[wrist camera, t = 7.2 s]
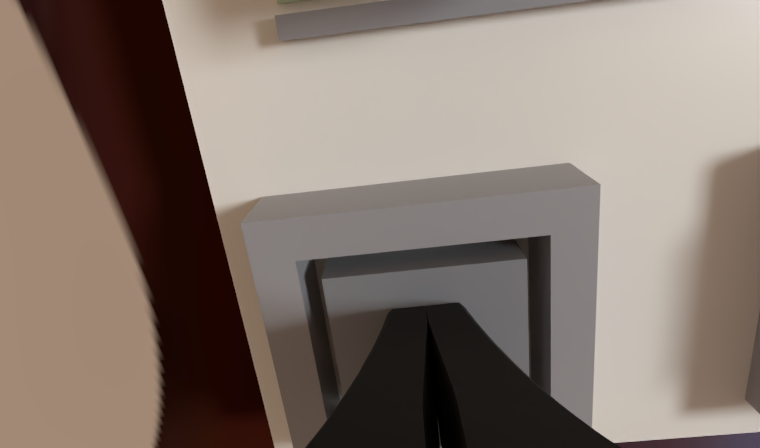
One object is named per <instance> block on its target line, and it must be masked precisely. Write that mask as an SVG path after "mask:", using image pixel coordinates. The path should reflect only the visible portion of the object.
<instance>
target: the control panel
mask: <svg viewBox="0 0 760 448" xmlns="http://www.w3.org/2000/svg"><path fill="white" fill-rule="evenodd" d="M162 2H163V5H164V9H165V13H166V17H167V21H168V25H169V29H170V33H171V37H172V41H173V45H174V49H175V53H176V57H177V61H178V65H179V69H180V73H181V77H182V81H183V85H184V89H185V93H186V97H187V101H188V105H189V109H190V113H191V117H192V121H193V125H194V129H195V133H196V137H197V141H198V145H199V149H200V152H201V156H202V160H203V164H204V168H205V172H206V176H207V180H208V184H209V188H210V192H211V196H212V200H213V204H214V208H215V212H216V216H217V220H218V224H219V228H220V232H221V236H222V240H223V244H224V248H225V252H226V256H227V260H228V264H229V268H230V272H231V276H232V280H233V284H234V288H235V292H236V295H237V299H238V303H239V307H240V311H241V315H242V319H243V323H244V327H245V331H246V335H247V339H248V343H249V347H250V351H251V355H252V359H253V363H254V367H255V371H256V375H257V379H258V383H259V387H260V391H261V395H262V399H263V403H264V407H265V411H266V415H267V419H268V423H269V427H270V431H271V435H272V438H273V442H274V446H275V448H305V447H306V446H307V445H308V443H309V442H310V441H311V440H312V439H313V437H314V436H315V435H316V434H317V432H318V431H319V430H320V429H321V427H322V426H323V425H324V423H325V422H326V421H327V419H328V418H329V417H330V415H331V414H332V412H333V411H334V410H335V408H336V407H337V405H338V404H339V402H340V401H341V399H342V398H343V395H342V389H341V384H340V378H339V373H338V367H337V362H336V356H335V351H334V345H333V340H332V334H331V329H330V323H329V318H328V312H327V307H326V301H325V296H324V290H323V285H322V276H323V272H324V269H325V265H326V262H327V259H328V258H332V257H342V256H351V255H361V254H371V253H381V252H390V251H400V250H410V249H420V248H429V247H439V246H449V245H459V244H468V243H478V242H488V241H498V240H507V239H515V240H516V241H517V243H518V245H519V246H520V248H521V249H522V251H523V253H524V254H525V256H526V258H527V278H528V329H529V377H530V378H531V379H532V380H533V381H534V382H535V383H537V384H538V385H539V386H540V387H541V388H542V389H543V390H545V391H546V392H547V393H548V394H549V395H550V396H551V397H553V398H554V399H555V400H556V401H557V402H559V403H560V404H561V405H562V406H564V407H565V408H566V409H567V410H569V411H570V412H571V413H572V414H574V415H575V416H576V417H578V418H579V419H580V420H582V421H583V422H585V423H586V424H587V425H589V426H590V427H591V428H593V429H594V430H595V431H597V432H598V433H600V434H601V435H603V436H604V437H606V438H607V439H609V440H610V441H612V442H613V443H619V442H632V441H645V440H658V439H671V438H684V437H698V436H711V435H724V434H737V433H750V432H760V0H162ZM439 439H440V435H439ZM440 448H442V447H441V443H440Z"/></svg>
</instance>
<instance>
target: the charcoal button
mask: <svg viewBox="0 0 760 448" xmlns="http://www.w3.org/2000/svg"><path fill="white" fill-rule="evenodd" d="M322 285H323V290H324V296H325V301H326V307H327V312H328V318H329V323H330V329H331V334H332V340H333V345H334V351H335V356H336V362H337V367H338V373H339V378H340V384H341V389H342V395H343V396H344V395H345V393H346V392H347V390H348V389H349V387H350V386H351V384H352V383H353V381H354V379H355V378H356V376H357V375H358V373H359V371H360V369H361V368H362V366H363V364H364V362H365V361H366V359H367V357H368V355H369V353H370V352H371V350H372V348H373V346H374V344H375V342H376V340H377V338H378V336H379V334H380V331H381V329H382V327H383V325H384V322H385V320H386V317H387V314H388V313H389V312H390V311H391V310H392V309H397V308H408V307H418V306H425V307H426V306H429V305H439V304H448V303H458V302H459V303H460V304H462V305H463V306H464V307H465V308H466V309H467V310H468V312H469V313H470V314H471V316H472V317H473V318H474V320H475V321H476V322H477V323H478V324H479V326H480V327H481V328H482V329H483V330H484V331H485V332H486V334H487V335H488V336H489V337H490V338H491V339H492V340H493V341H494V342H495V344H496V345H497V346H498V347H499V348H500V349H501V350H502V351H503V352H504V353H505V354H506V355H507V356H508V357H509V358H510V359H511V360H512V361H513V362H514V363H515V364H516V365H517V366H518V367H519V368H520V369H521V370H522V371H523V372H524V373H526V374H527V375H528V376H529V329H528V278H527V258H526V256H525V254H524V253H523V251H522V249H521V248H520V246H519V245H518V243H517V241H516V240H515V239H507V240H498V241H488V242H478V243H468V244H459V245H449V246H439V247H429V248H420V249H410V250H400V251H390V252H381V253H371V254H361V255H351V256H342V257H332V258H328V259H327V262H326V265H325V269H324V272H323V276H322ZM426 314H427V313H426ZM437 419H438V418H437ZM438 429H439V426H438Z"/></svg>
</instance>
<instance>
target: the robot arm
mask: <svg viewBox="0 0 760 448" xmlns="http://www.w3.org/2000/svg"><path fill="white" fill-rule="evenodd" d="M426 313H427V314H426ZM437 418H438V419H437ZM438 426H439V429H438ZM439 435H440V439H439ZM440 443H441V447H442V448H620V447H619V446H617V445H616V444H614V443H613V442H612V441H610V440H609V439H607V438H606V437H604V436H603V435H601V434H600V433H598V432H597V431H595V430H594V429H593V428H591V427H590V426H589V425H587V424H586V423H585V422H583V421H582V420H580V419H579V418H578V417H576V416H575V415H574V414H572V413H571V412H570V411H569V410H567V409H566V408H565V407H564V406H562V405H561V404H560V403H559V402H557V401H556V400H555V399H554V398H553V397H551V396H550V395H549V394H548V393H547V392H546V391H545V390H543V389H542V388H541V387H540V386H539V385H538V384H537V383H535V382H534V381H533V380H532V379H531V378H530V377H529V376H528V375H527V374H526V373H524V372H523V371H522V370H521V369H520V368H519V367H518V366H517V365H516V364H515V363H514V362H513V361H512V360H511V359H510V358H509V357H508V356H507V355H506V354H505V353H504V352H503V351H502V350H501V349H500V348H499V347H498V346H497V345H496V344H495V342H494V341H493V340H492V339H491V338H490V337H489V336H488V335H487V334H486V332H485V331H484V330H483V329H482V328H481V327H480V326H479V324H478V323H477V322H476V321H475V320H474V318H473V317H472V316H471V314H470V313H469V312H468V310H467V309H466V308H465V307H464V306H463V305H462V304H460V303H459V302H458V303H448V304H439V305H429V306H426V307H425V306H418V307H408V308H397V309H392V310H391V311H390V312H389V313H388V314H387V317H386V320H385V322H384V325H383V327H382V329H381V331H380V334H379V336H378V338H377V340H376V342H375V344H374V346H373V348H372V350H371V352H370V353H369V355H368V357H367V359H366V361H365V362H364V364H363V366H362V368H361V369H360V371H359V373H358V375H357V376H356V378H355V379H354V381H353V383H352V384H351V386H350V387H349V389H348V390H347V392H346V393H345V395H344V396H343V398H342V399H341V401H340V402H339V404H338V405H337V407H336V408H335V410H334V411H333V412H332V414H331V415H330V417H329V418H328V419H327V421H326V422H325V423H324V425H323V426H322V427H321V429H320V430H319V431H318V432H317V434H316V435H315V436H314V437H313V439H312V440H311V441H310V442H309V443H308V445H307V446H306V447H305V448H440Z"/></svg>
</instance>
